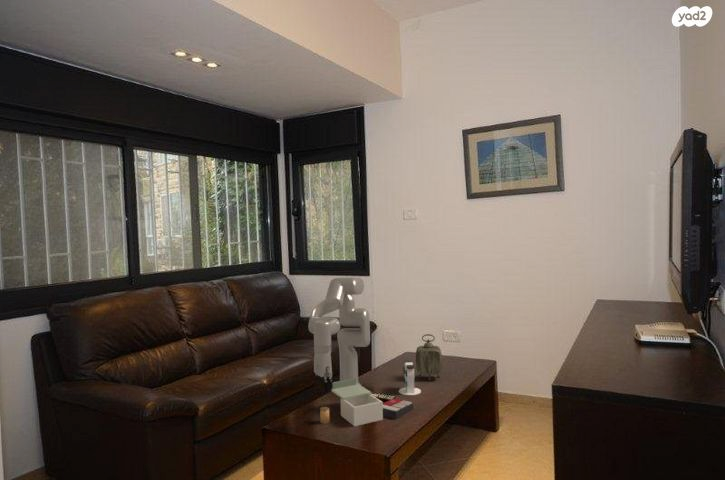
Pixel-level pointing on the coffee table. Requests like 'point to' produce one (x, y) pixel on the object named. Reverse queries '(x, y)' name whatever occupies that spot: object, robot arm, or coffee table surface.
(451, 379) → the coffee table surface
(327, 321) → the robot arm
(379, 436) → the coffee table surface
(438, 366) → the tabletop clock
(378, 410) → the box
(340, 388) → the lid
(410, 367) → the white pedestal stand
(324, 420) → the tan cylinder
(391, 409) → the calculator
